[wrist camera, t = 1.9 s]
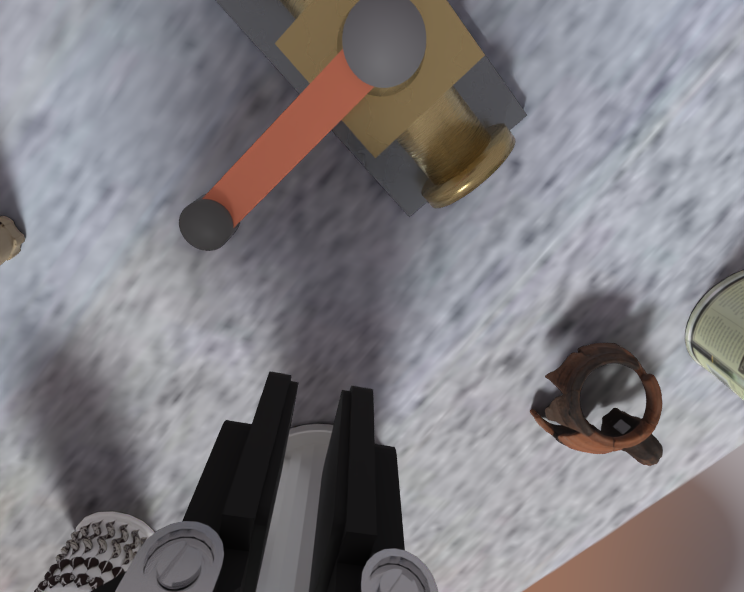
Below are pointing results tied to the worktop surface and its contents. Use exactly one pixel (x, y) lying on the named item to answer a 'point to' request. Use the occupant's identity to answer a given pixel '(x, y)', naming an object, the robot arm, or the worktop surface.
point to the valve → (400, 98)
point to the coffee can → (720, 332)
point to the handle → (9, 239)
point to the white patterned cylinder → (96, 552)
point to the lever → (312, 115)
